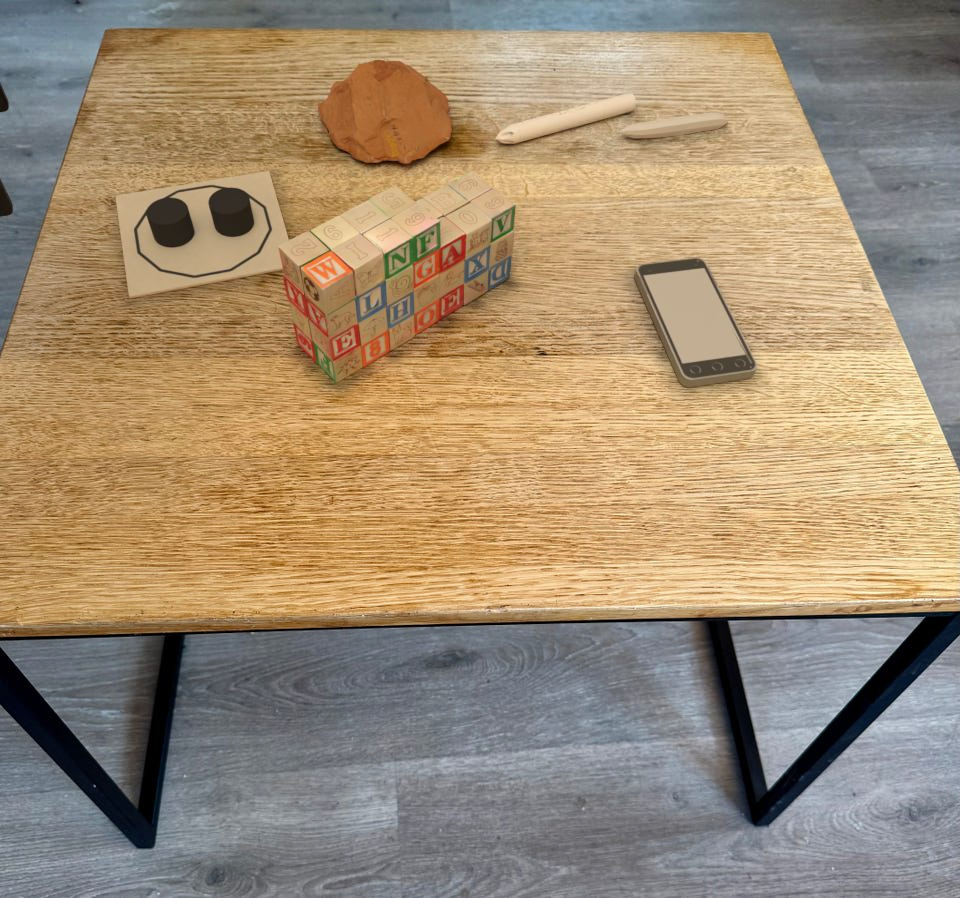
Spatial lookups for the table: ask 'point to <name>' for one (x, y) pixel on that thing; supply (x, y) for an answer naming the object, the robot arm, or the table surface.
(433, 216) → the stack of blocks
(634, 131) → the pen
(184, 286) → the face card
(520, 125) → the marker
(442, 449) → the table surface
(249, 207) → the right eye dot
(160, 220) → the left eye dot
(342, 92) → the stone
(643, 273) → the smartphone
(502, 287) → the table surface
